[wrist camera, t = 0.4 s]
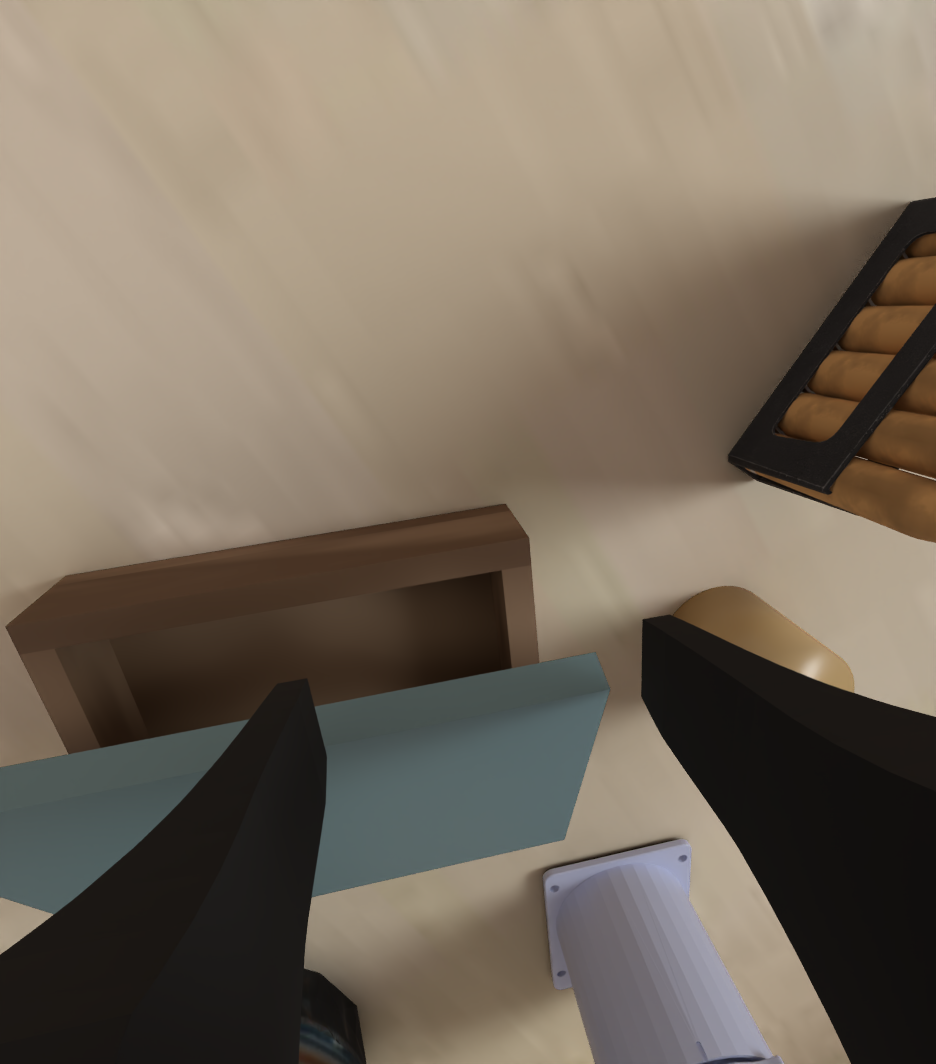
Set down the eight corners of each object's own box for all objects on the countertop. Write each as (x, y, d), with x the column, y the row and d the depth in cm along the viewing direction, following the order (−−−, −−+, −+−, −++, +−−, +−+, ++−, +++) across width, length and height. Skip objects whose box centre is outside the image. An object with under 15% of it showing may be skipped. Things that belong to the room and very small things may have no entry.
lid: (556, 812, 23) (564, 839, 22) (135, 906, 21) (130, 938, 20) (595, 652, 14) (610, 688, 13) (-137, 794, 12) (-164, 845, 11)
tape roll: (762, 673, 27) (845, 749, 22) (659, 694, 26) (721, 777, 21) (772, 576, 25) (865, 637, 20) (661, 597, 24) (729, 664, 19)
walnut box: (529, 747, 26) (551, 808, 23) (172, 821, 24) (141, 899, 21) (505, 504, 21) (528, 537, 18) (65, 576, 20) (5, 626, 17)
